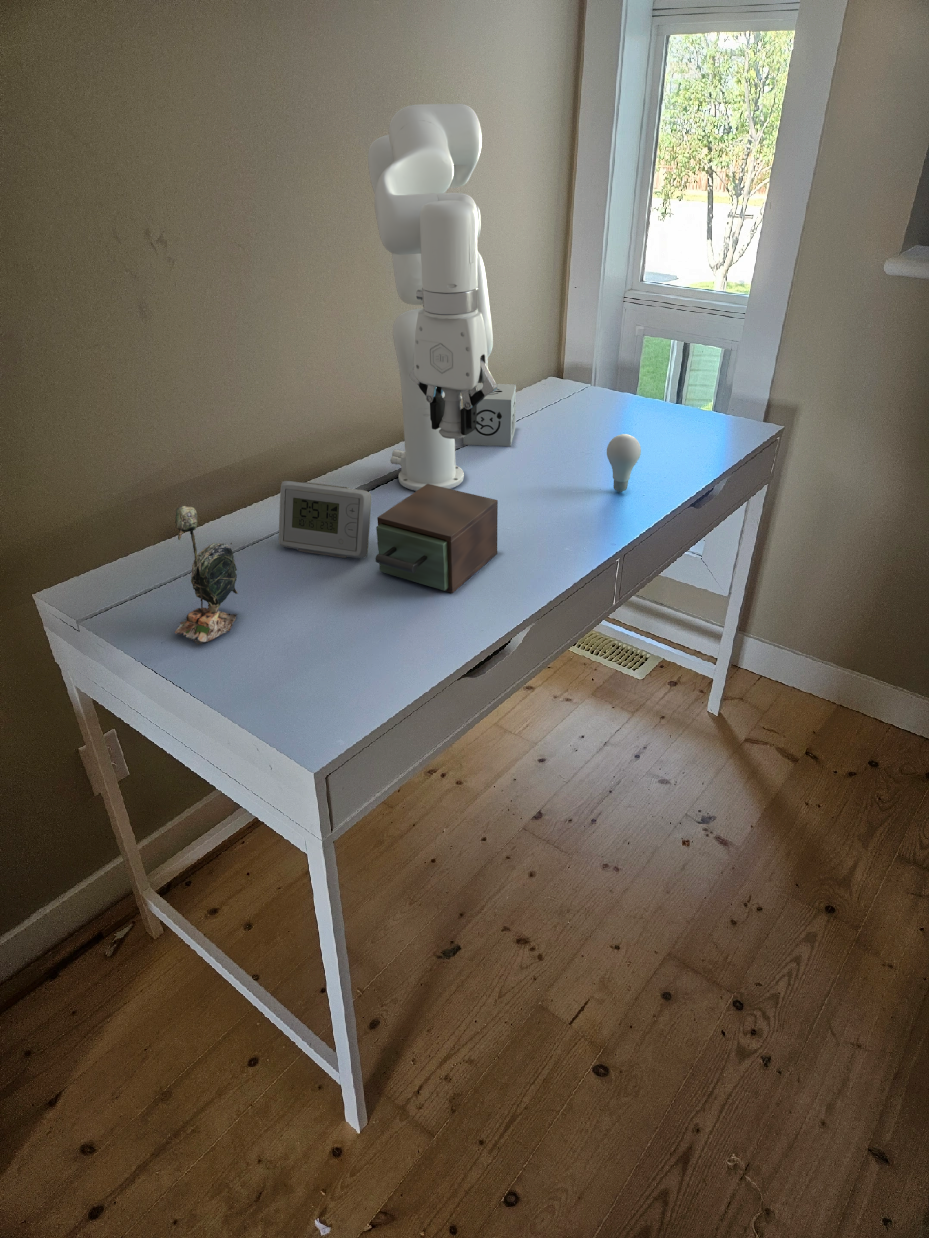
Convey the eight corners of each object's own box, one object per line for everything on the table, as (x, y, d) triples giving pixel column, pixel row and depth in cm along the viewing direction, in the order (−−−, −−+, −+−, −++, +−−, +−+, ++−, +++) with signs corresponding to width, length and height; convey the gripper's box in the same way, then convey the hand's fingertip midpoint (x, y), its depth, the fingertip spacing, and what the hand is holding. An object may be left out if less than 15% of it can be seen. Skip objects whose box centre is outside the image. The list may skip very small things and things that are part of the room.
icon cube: (515, 429, 182) (515, 384, 176) (510, 446, 174) (511, 399, 168) (470, 427, 183) (469, 383, 178) (463, 444, 175) (462, 398, 169)
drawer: (429, 604, 121) (426, 557, 116) (363, 583, 126) (358, 538, 121) (487, 554, 133) (487, 510, 129) (425, 537, 138) (423, 494, 134)
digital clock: (273, 548, 138) (264, 489, 132) (307, 526, 144) (300, 469, 138) (353, 570, 131) (346, 509, 125) (385, 546, 137) (380, 487, 132)
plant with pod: (263, 617, 120) (240, 490, 109) (196, 652, 113) (165, 520, 102) (229, 598, 125) (204, 475, 114) (163, 631, 117) (129, 502, 106)
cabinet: (452, 593, 125) (450, 536, 119) (381, 572, 130) (377, 517, 125) (497, 553, 135) (497, 500, 130) (429, 535, 140) (427, 483, 135)
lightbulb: (614, 482, 158) (619, 426, 152) (642, 490, 154) (648, 434, 148) (597, 493, 154) (601, 436, 148) (626, 501, 150) (631, 444, 144)
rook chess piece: (465, 440, 122) (464, 386, 118) (435, 439, 123) (433, 385, 118) (471, 429, 126) (470, 377, 121) (442, 428, 126) (440, 376, 122)
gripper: (384, 301, 115) (392, 428, 125) (491, 314, 107) (491, 447, 117) (413, 290, 120) (419, 413, 130) (517, 302, 113) (515, 431, 123)
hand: (453, 428), depth 124 cm, fingers closed on rook chess piece, 4 cm apart
